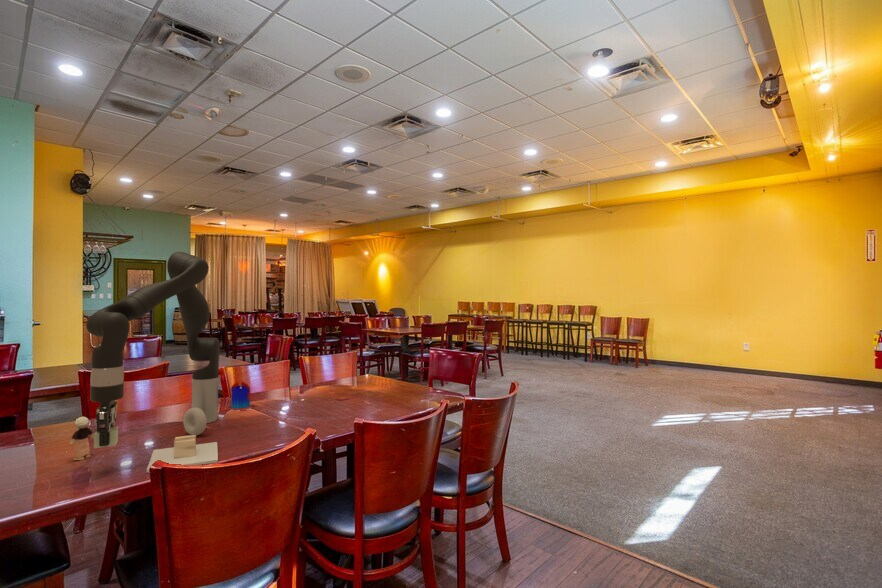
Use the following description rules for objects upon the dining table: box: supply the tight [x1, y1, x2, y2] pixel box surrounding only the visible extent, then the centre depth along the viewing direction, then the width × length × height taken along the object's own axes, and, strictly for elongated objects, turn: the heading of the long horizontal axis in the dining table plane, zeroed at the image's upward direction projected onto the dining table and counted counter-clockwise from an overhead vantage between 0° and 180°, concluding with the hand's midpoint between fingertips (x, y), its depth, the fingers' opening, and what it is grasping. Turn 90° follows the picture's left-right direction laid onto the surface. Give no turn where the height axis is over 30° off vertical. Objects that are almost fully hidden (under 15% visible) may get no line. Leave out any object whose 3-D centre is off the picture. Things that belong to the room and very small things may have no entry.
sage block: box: [93, 426, 119, 449], centre depth 124 cm, size 5×5×4 cm
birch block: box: [173, 434, 197, 459], centre depth 136 cm, size 6×6×5 cm
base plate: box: [146, 441, 219, 473], centre depth 136 cm, size 18×18×1 cm
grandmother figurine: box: [69, 416, 94, 461], centre depth 134 cm, size 8×4×13 cm, turn 5°
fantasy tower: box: [222, 381, 258, 412], centre depth 197 cm, size 12×12×12 cm
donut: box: [182, 407, 208, 437], centre depth 158 cm, size 10×4×10 cm, turn 66°
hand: (106, 442), depth 124 cm, fingers closed on sage block, 4 cm apart
